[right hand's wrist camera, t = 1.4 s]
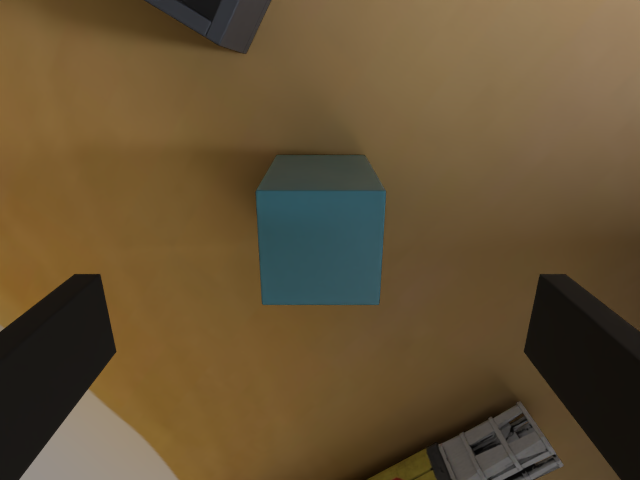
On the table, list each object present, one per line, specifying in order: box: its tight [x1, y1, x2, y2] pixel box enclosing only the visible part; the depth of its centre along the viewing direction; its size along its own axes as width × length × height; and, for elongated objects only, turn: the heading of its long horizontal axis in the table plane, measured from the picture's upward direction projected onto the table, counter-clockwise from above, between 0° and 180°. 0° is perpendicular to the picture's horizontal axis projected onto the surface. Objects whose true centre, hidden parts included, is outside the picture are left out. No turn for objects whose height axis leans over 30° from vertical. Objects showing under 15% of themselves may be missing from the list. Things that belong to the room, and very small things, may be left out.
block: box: [256, 155, 386, 305], centre depth 20 cm, size 5×5×8 cm
